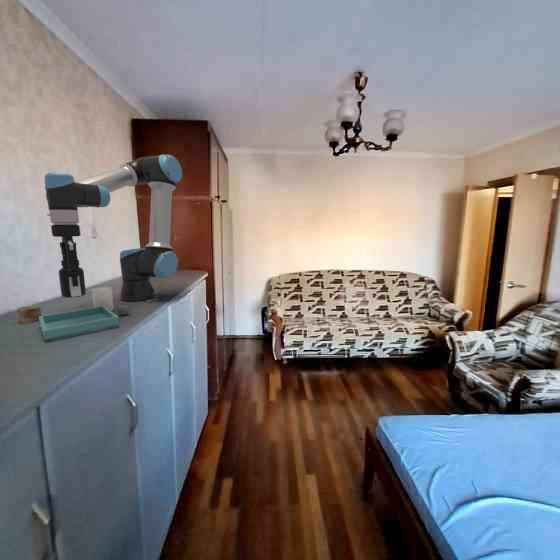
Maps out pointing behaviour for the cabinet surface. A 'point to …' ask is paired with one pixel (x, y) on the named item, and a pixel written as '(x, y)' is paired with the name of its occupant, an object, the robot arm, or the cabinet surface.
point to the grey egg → (123, 309)
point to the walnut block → (29, 314)
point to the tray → (77, 323)
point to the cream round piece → (103, 297)
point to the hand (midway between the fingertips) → (74, 294)
